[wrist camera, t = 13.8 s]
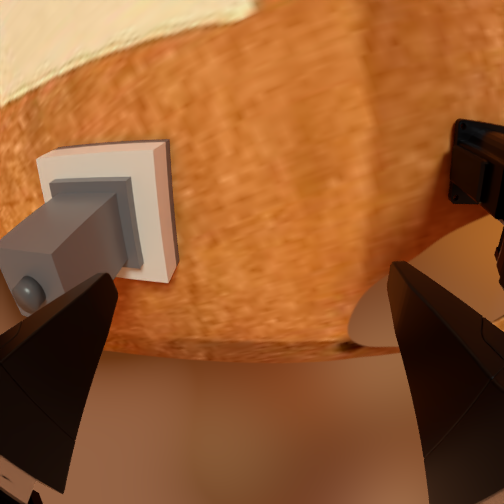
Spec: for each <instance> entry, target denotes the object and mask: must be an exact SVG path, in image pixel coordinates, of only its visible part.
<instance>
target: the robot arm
mask: <svg viewBox="0 0 504 504" xmlns="http://www.w3.org/2000/svg"><path fill="white" fill-rule="evenodd" d="M462 123H463V125H464V126H463V128H462V129H461V124H462ZM450 180H451V181H450V189H449V200H450V201H451V202H452V203H454V204H480V205H481V206H482V207H483V208H484V209H485V210H487V211H488V212H489V213H490V214H491V215H492V216H493V217H494V218H495V219H498V220H499V221H500V222H501V223H502V224H503V225H504V126H502V125H497V124H491V123H486V122H480V121H474V120H467V119H458V120H457V121H456V124H455V140H454V147H453V150H452V162H451V171H450ZM455 195H456V198H454V199H453V197H454V196H455ZM494 255H495V258H496V261H497V268H498V272H499V275H500V279H499V283H500V285H501V287H502V288H503V290H504V227H503V231H502V235H501V238H500V242H499V245H498V247H497V248H496V251H495V254H494ZM387 291H388V297H389V301H390V306H391V312H392V318H393V323H394V329H395V334H396V338H397V341H398V345H399V349H400V352H401V355H402V359H403V363H404V367H405V370H406V375H407V379H408V383H409V387H410V391H411V396H412V400H413V405H414V409H415V414H416V418H417V424H418V429H419V434H420V439H421V445H422V451H423V457H424V464H425V471H426V479H427V486H428V495H429V504H504V332H503V331H501V330H500V329H499V328H497V327H496V326H495V325H493V324H492V323H491V322H490V321H488V320H487V319H486V318H483V317H482V315H480V314H479V313H478V312H476V311H475V310H474V309H472V308H471V307H470V306H468V305H467V304H466V303H464V302H463V301H461V300H460V299H459V298H457V297H456V296H455V295H453V294H452V293H450V292H449V291H447V290H446V289H445V288H443V287H442V286H441V285H439V284H438V283H436V282H435V281H433V280H432V279H431V278H429V277H428V276H426V275H425V274H423V273H422V272H420V271H419V270H417V269H416V268H414V267H413V266H411V265H410V264H409V263H407V262H405V261H393V262H392V263H391V265H390V271H389V277H388V282H387ZM117 300H118V292H117V289H116V287H115V284H114V282H113V280H112V277H111V275H110V274H109V273H107V272H103V273H97V274H95V275H93V276H92V277H90V278H88V279H87V280H85V281H83V282H82V283H80V284H79V285H77V286H75V287H74V288H72V289H71V290H69V291H67V292H66V293H64V294H63V295H61V296H59V297H58V298H56V299H55V300H53V301H52V302H50V303H48V304H47V305H45V306H44V307H42V308H41V309H39V310H38V311H36V312H35V313H33V314H32V315H30V316H28V317H27V318H26V319H24V320H23V321H21V322H20V323H18V324H17V325H15V326H14V327H12V328H10V329H9V330H7V331H6V332H4V333H3V334H1V335H0V504H43V503H42V501H41V498H40V495H39V493H38V492H36V491H34V490H33V488H34V485H35V482H36V481H38V482H39V483H41V484H43V485H45V486H47V487H49V488H51V489H53V490H55V491H57V492H59V493H61V494H63V493H64V490H65V485H66V480H67V476H68V471H69V466H70V462H71V457H72V453H73V449H74V445H75V440H76V436H77V432H78V428H79V425H80V421H81V417H82V414H83V410H84V407H85V404H86V400H87V397H88V393H89V390H90V387H91V384H92V381H93V378H94V374H95V371H96V368H97V365H98V362H99V359H100V356H101V354H102V351H103V348H104V345H105V342H106V339H107V336H108V333H109V329H110V326H111V322H112V318H113V314H114V310H115V307H116V303H117Z"/></svg>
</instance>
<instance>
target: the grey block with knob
mask: <svg viewBox="0 0 504 504" xmlns="http://www.w3.org/2000/svg"><path fill="white" fill-rule="evenodd" d="M49 186H50V191H51V196H52V199H50V200H49V201H48V202H46V203H45V204H44V205H42V206H41V207H40V208H38V209H37V210H36V211H34V212H33V213H32V214H31V215H29V216H28V217H27V218H26V219H24V220H23V221H22V222H21V223H19V224H18V225H17V226H16V227H15V228H13V229H12V230H11V231H10V232H9V233H7V234H6V235H5V236H4V237H3V238H2V239H1V240H0V268H1V271H2V273H3V275H4V278H5V280H6V282H7V284H8V287H9V289H10V291H11V293H12V295H13V298H14V300H15V302H16V304H17V306H18V308H19V310H20V312H21V314H22V315H24V316H27V317H28V316H30V315H32V314H33V313H35V312H36V311H38V310H39V309H41V308H42V307H44V306H45V305H47V304H48V303H50V302H52V301H53V300H55V299H56V298H58V297H59V296H61V295H63V294H64V293H66V292H67V291H69V290H71V289H72V288H74V287H75V286H77V285H79V284H80V283H82V282H83V281H85V280H87V279H88V278H90V277H92V276H93V275H95V274H97V273H103V272H107V273H109V274H110V275H111V277H112V280H114V278H115V277H116V275H117V274H118V273H119V271H120V270H121V268H122V267H127V268H136V269H140V268H141V266H142V265H143V263H144V260H143V255H142V249H141V244H140V238H139V232H138V225H137V219H136V212H135V205H134V197H133V189H132V181H131V177H91V178H66V179H55V180H53V181H51V182H50V183H49Z"/></svg>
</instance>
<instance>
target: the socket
mask: <svg viewBox="0 0 504 504" xmlns="http://www.w3.org/2000/svg"><path fill="white" fill-rule="evenodd" d="M36 161H37V167H38V172H39V177H40V182H41V187H42V192H43V196H44V200H45V203H46V202H48V201H49V200H50V199H52V196H51V191H50V186H49V183H50V182H51V181H53V180H55V179H66V178H91V177H131V181H132V189H133V197H134V205H135V212H136V219H137V225H138V232H139V238H140V244H141V249H142V255H143V260H144V263H143V265H142V266H141V268H140V269H136V268H127V267H122V268H121V270H120V271H119V273H118V274H117V275H116V277H119V278H128V279H136V280H145V281H154V282H163V283H169V281H170V279H171V277H172V275H173V273H174V270H175V268H176V266H177V264H178V262H179V254H178V245H177V235H176V225H175V214H174V203H173V190H172V176H171V161H170V142H169V139H166V140H139V141H121V142H107V143H95V144H85V145H75V146H66V147H59V148H57V149H55V150H53V151H51V152H49V153H47V154H45V155H43V156H41V157H39V158H37V159H36Z"/></svg>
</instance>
